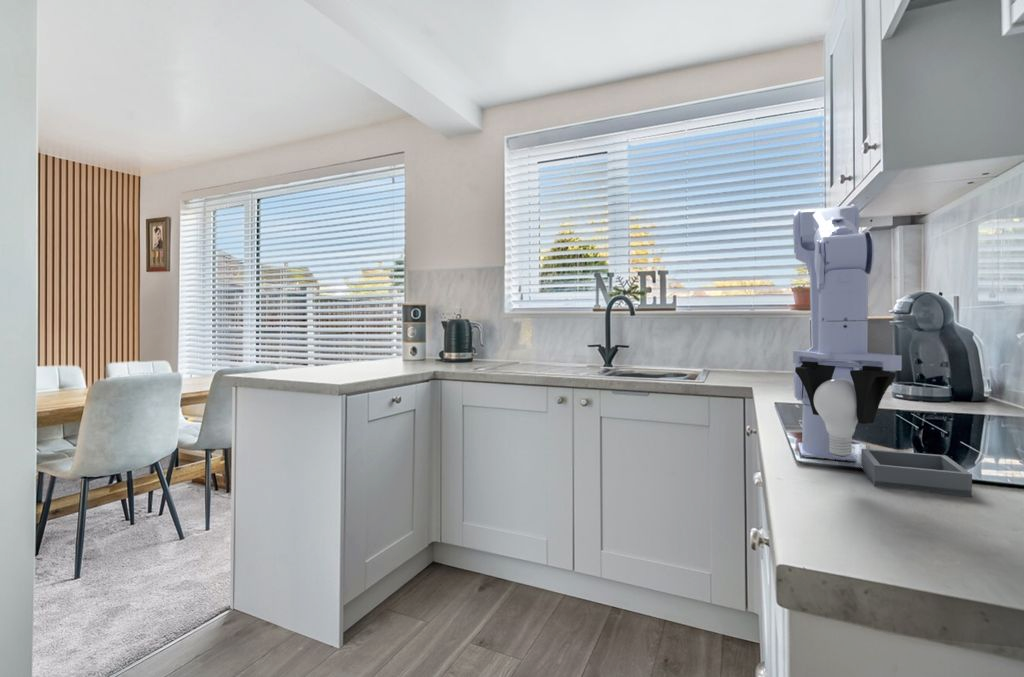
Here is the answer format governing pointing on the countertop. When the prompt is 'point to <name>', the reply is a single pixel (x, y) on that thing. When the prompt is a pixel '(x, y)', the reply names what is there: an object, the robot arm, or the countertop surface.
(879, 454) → the tray
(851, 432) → the lightbulb
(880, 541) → the countertop surface
